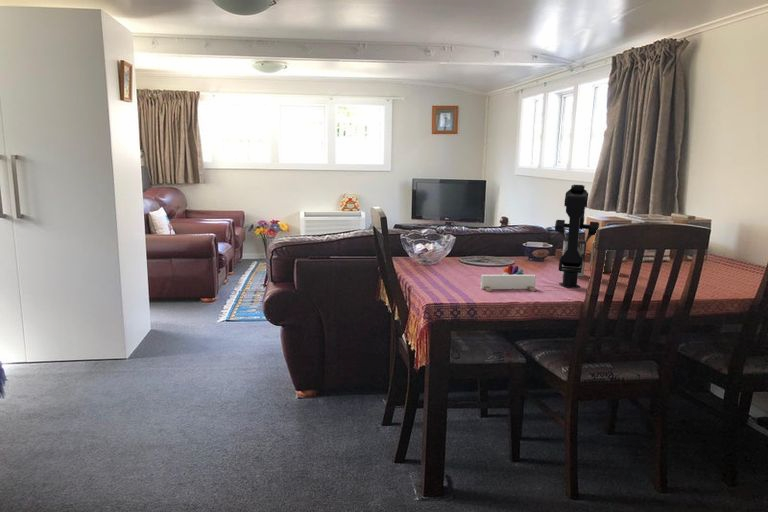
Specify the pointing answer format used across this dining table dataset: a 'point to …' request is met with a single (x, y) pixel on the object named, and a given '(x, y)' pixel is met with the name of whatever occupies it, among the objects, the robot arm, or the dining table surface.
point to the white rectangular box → (508, 282)
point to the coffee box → (583, 251)
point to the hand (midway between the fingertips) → (575, 240)
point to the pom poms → (512, 271)
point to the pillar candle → (607, 262)
